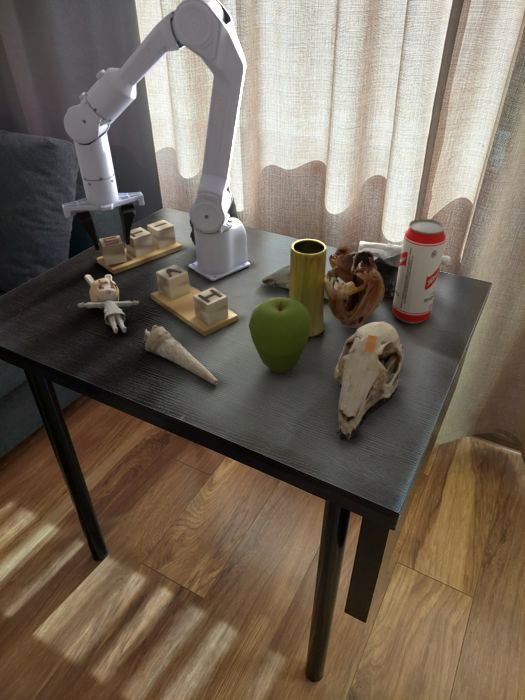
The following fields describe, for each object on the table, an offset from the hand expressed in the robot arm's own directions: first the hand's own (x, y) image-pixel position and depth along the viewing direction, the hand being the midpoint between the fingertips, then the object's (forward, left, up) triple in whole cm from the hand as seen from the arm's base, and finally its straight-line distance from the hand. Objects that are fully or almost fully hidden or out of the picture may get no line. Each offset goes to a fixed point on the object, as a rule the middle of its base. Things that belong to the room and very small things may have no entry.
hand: (112, 245), depth 102 cm
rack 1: (-6, 0, -4) cm, 7 cm away
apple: (-2, +46, -4) cm, 46 cm away
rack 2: (-2, +24, -4) cm, 24 cm away
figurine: (-36, +32, -1) cm, 48 cm away
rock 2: (-28, +42, -2) cm, 51 cm away
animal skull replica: (-5, +59, -4) cm, 59 cm away
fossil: (-21, +33, -4) cm, 40 cm away
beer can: (-27, +51, -4) cm, 58 cm away
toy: (+10, +15, -4) cm, 18 cm away
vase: (-12, +41, -4) cm, 43 cm away
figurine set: (-14, +55, -4) cm, 57 cm away
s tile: (0, 0, -3) cm, 3 cm away
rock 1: (-20, +7, -4) cm, 21 cm away
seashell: (+8, +35, -4) cm, 36 cm away
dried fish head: (-20, +37, -3) cm, 42 cm away
